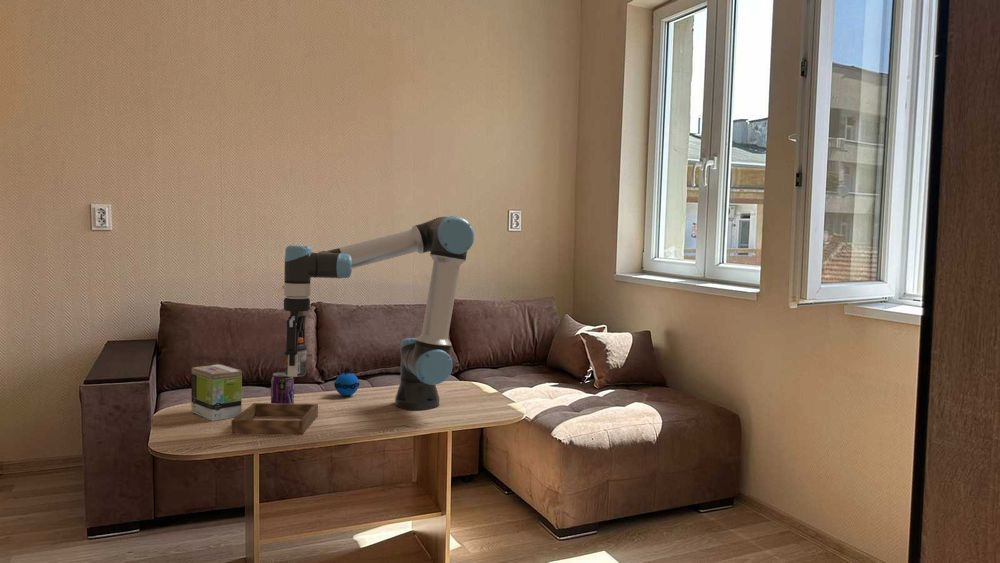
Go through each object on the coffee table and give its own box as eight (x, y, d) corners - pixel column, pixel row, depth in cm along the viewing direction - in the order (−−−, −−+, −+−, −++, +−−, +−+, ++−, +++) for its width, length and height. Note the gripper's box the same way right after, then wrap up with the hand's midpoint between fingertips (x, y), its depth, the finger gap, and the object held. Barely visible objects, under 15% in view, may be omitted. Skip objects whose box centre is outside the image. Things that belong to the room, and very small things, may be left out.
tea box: (243, 416, 219) (242, 369, 217) (211, 422, 211) (211, 374, 210) (221, 407, 229) (220, 362, 228) (190, 412, 221) (189, 366, 220)
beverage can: (286, 413, 223) (287, 376, 222) (266, 412, 224) (266, 375, 223) (297, 408, 229) (297, 372, 229) (278, 406, 231) (278, 371, 230)
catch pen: (317, 416, 220) (317, 404, 220) (302, 434, 200) (302, 421, 200) (253, 415, 219) (253, 403, 219) (231, 434, 200) (231, 420, 199)
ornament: (351, 391, 254) (351, 364, 254) (363, 396, 248) (363, 368, 247) (329, 395, 249) (330, 367, 248) (342, 399, 242) (342, 371, 242)
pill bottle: (281, 374, 208) (282, 337, 208) (299, 372, 213) (299, 335, 212) (292, 377, 204) (293, 339, 204) (309, 375, 209) (310, 338, 208)
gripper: (292, 294, 216) (290, 367, 218) (275, 299, 197) (273, 380, 199) (316, 295, 217) (314, 368, 218) (302, 300, 198) (300, 381, 199)
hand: (295, 373), depth 209 cm, fingers closed on pill bottle, 6 cm apart
